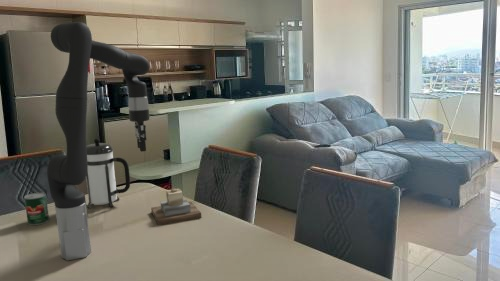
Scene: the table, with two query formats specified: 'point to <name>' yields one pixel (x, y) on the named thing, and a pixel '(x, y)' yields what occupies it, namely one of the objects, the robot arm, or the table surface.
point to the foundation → (175, 212)
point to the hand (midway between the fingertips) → (141, 149)
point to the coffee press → (103, 174)
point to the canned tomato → (36, 208)
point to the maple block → (174, 197)
